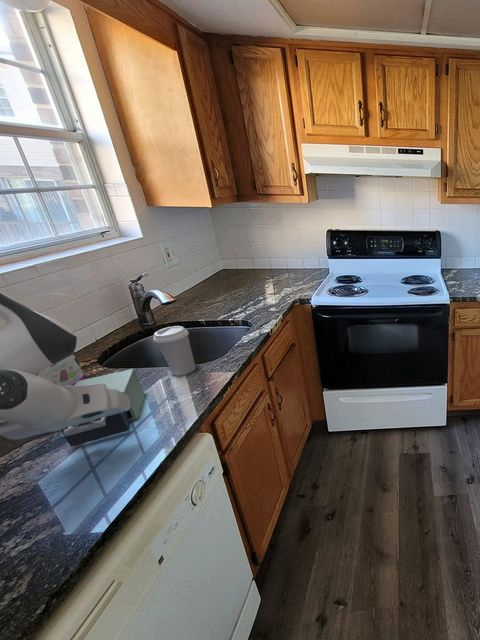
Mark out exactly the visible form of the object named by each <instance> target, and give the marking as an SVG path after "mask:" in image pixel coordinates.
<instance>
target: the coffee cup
mask: <svg viewBox="0 0 480 640" xmlns="http://www.w3.org/2000/svg"><path fill="white" fill-rule="evenodd" d="M189 335H190V332H189V331H188V330H187V329H186V328H185V327H184V326H181V325H173V326H167V327H164V328H161V329H159V330H157V331H155V332H154V333H153V339H152V341H153V343H156V345H157V347H158V348H159V350H160V352H161V354H162V357H163V358H164V359H165V362H166V363H167V365H168V367H169V368H170V371H171V372H172V374H173V375H174V376H185V375H188V374H191V373H193V372H194V371H196V368H197V367H196V366H197V365H196V363H195V359H194V354H193V350H192V348H191V347H192V346H191V344H190V339H189Z"/></svg>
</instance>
